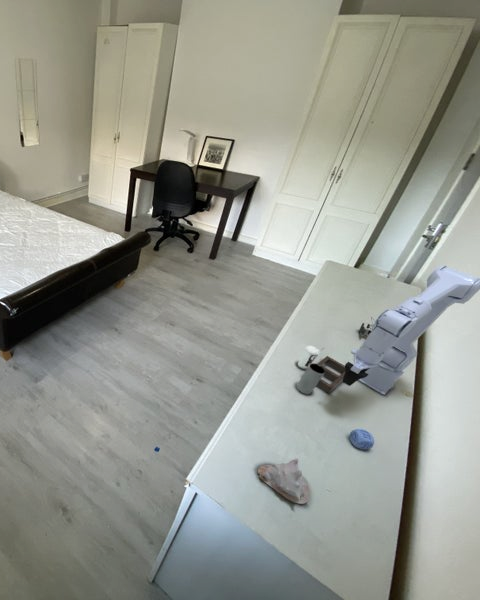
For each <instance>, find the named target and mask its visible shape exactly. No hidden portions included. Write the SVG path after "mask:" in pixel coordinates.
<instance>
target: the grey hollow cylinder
mask: <svg viewBox="0 0 480 600" xmlns="http://www.w3.org/2000/svg"><path fill="white" fill-rule="evenodd" d="M324 374H325V369H324V368H323V367H322V366H320V365H318V363H313V362H312V363H311V364H310V365H309V367H308V368H307V369H305V372H304V373H303V374H302V376H301V377H300V379H299V380H298V382H297V384H296V389H297V390H298V391H299V392H300V393H302V394H304V395H310V394H312V392H313V391H314V389H315V388H316V387H317V386H316V385H317V384H318V382H319V381H320V379H322V378H323V377H324V376H323V375H324Z"/></svg>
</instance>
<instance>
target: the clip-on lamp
mask: <svg viewBox="0 0 480 600" xmlns="http://www.w3.org/2000/svg"><path fill="white" fill-rule="evenodd" d="M370 319H371V320H370V321H371V324H372V325H373V326H374V322H375V321H376V319H375V318H374V317H373V316H371V317H370ZM373 321H374V322H373ZM371 324H369V323H368V324H367V325H366V327H365V322H362V324H361V325H360V327H359V330H358V333H360V334H361V336H364V335H365V336H367V337H368V336H369V335H370V333H371V332H372V330H371V329H372V327H371Z"/></svg>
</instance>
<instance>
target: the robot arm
mask: <svg viewBox="0 0 480 600" xmlns="http://www.w3.org/2000/svg"><path fill="white" fill-rule="evenodd" d="M479 291H480V277H477V276H474V275H472V274H468V273H465V272H462V271H460V270H457V269H454V268H451V267H449V266H447V265H445V264H444V265H439V266H438V267H436V268H435V269H434V270H433V271H432V272H431V273H430V274H429V276H428V277H427V279H426V288H425V289H424V290H423V291H422V292H421V293H420V294H419V295H417V296H409V297H407V298H406V299H405V300H403V301H402V302H400V303H399V304H398V305H397V306H395V307H393V308H392V309H386V310H384V311H383V312H381V313H380V314H379V315H378V316H377V318H376V319H375V321H374V322H373V324H374V325H373V326H372V327H371V330H372V332H371V333H370V335H369V336H368V335H367V337H366V339H364V341H363V342H362V344H361V345H360V347H359V348H358V349H356V348H353V349H352V350H350V354H352V355H353V363H352V362H350V361H347V362H346V363H345V364H344V366H345V374H344V377H343V381H342V382H341V383H343V384H344V385H347V386H348V387H350V386H352V385H354V384H355V383H356V382H357V381H359V382H360V383H362V384H364V385H366V386H368V387H369V388H371V389H372V390H374V391H376V392H378V393H380V394H381V395H383V396H384V395H386V394H387V393H388V391H389V390H392V389H393V388H394V387H395V386H396V383H397V381H398V380H399V379H400V378H401V377H402V376H403V375H404V373H405V371H404V370H405V369H407V368H408V367H409V366H410V365H411V364H412V363H413V361H414V359H415V358H416V357H418V356H417V355H418V352H417V349H416V347H415V345H414V343H415V342H416V341H417V340H418V339H419V338H420V337H421V336H422V335H423V334H424V333H425V332H426V331H427V330H428V329H429V328H430V327H431V326H432V325H433V324H434V323H435V321H437V320H438V318H440V316H441V315H442V314H444V312H445V311H446V310H447V309H448V308H449V307H451V306H452V305H454V304H461V305H462V304H463V305H464V304H465V303H468V302H469V301H470V300H471V299H472V298H473V297H474V296H475V295H476V294H477V293H478V292H479Z"/></svg>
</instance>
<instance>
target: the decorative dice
mask: <svg viewBox="0 0 480 600" xmlns="http://www.w3.org/2000/svg"><path fill="white" fill-rule="evenodd" d="M349 440H350V442H351V444H352V445H353V446H354V447H356V448H358V449H359V450H370V449H372V448H373V447H374V446H375V438H374V436H373V434H371V433H370V432H369V431H368V430H366V429H362V428H355V429H353V430H351V431H350V432H349Z"/></svg>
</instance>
